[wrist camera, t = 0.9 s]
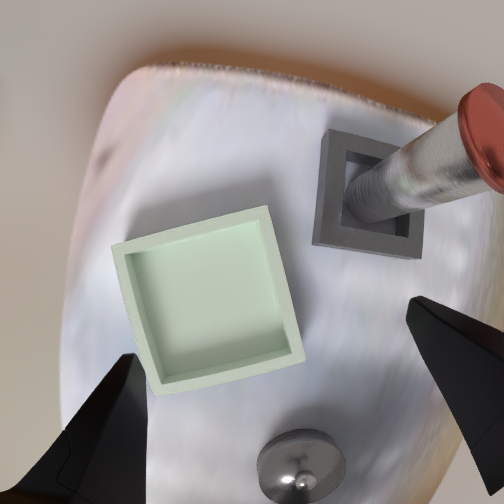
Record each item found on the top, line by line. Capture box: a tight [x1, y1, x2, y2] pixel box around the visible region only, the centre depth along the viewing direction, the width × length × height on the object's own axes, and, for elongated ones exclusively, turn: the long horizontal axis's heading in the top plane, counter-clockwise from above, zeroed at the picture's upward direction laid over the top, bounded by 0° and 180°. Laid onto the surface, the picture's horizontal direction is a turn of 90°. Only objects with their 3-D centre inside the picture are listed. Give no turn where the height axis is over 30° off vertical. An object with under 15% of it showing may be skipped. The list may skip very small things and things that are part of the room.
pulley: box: [257, 429, 346, 504], centre depth 21 cm, size 7×7×3 cm
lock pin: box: [346, 83, 504, 223], centre depth 16 cm, size 5×5×15 cm
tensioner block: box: [312, 129, 425, 259], centre depth 23 cm, size 8×8×2 cm
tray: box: [111, 205, 306, 397], centre depth 21 cm, size 11×11×2 cm
